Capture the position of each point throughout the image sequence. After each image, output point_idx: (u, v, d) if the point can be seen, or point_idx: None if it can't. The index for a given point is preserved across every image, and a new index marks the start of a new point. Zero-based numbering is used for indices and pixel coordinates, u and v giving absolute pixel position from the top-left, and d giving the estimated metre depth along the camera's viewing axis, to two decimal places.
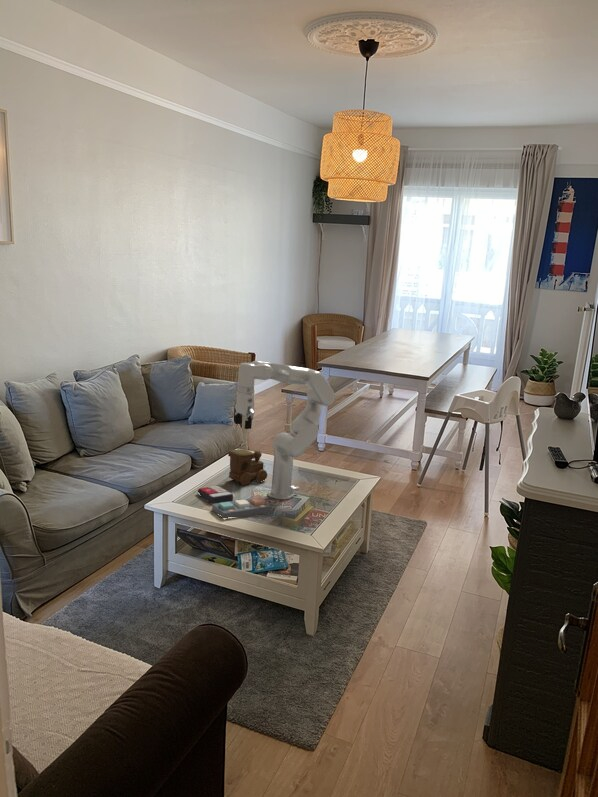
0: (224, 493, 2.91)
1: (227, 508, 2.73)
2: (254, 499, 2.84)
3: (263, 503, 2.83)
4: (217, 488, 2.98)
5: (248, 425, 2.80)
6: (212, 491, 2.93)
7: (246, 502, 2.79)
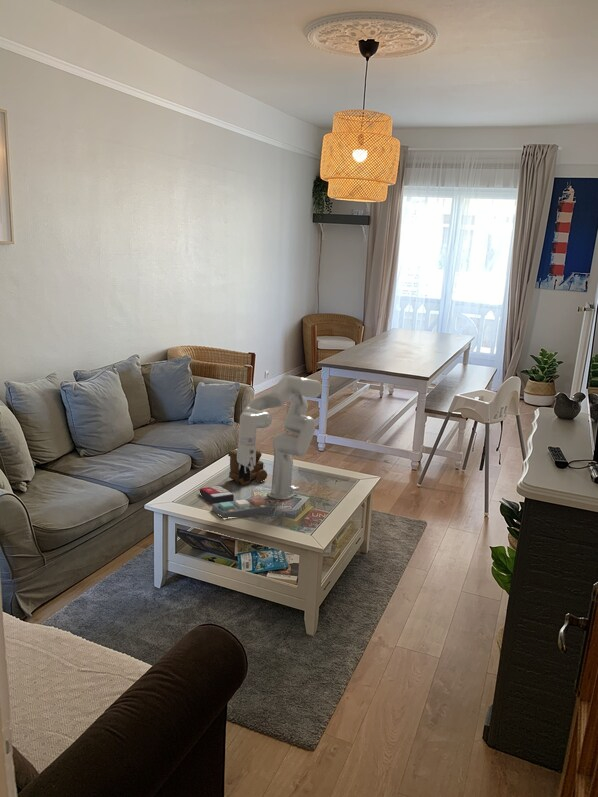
0: (225, 493, 2.91)
1: (227, 508, 2.73)
2: (254, 499, 2.84)
3: (263, 503, 2.83)
4: (218, 488, 2.98)
5: (246, 478, 2.75)
6: (213, 491, 2.93)
7: (246, 502, 2.79)
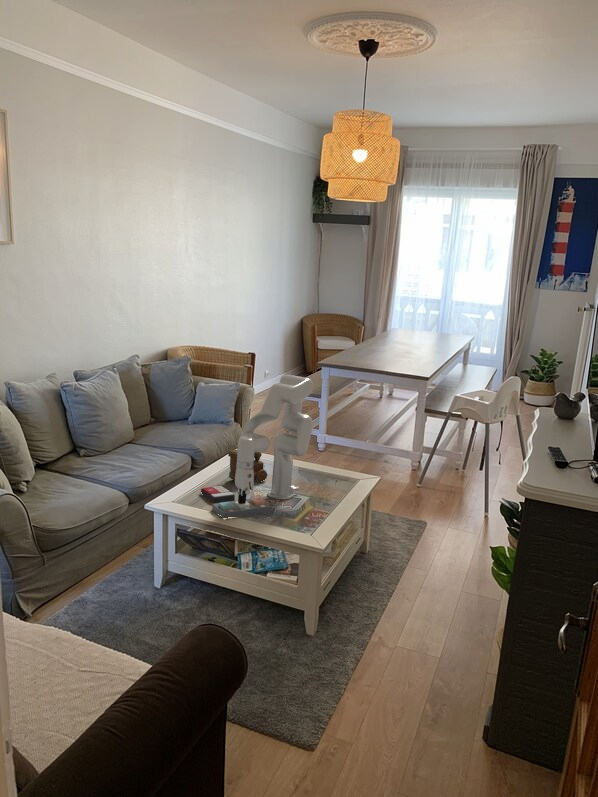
0: (226, 493, 2.91)
1: (227, 508, 2.73)
2: (254, 499, 2.84)
3: (263, 503, 2.83)
4: (220, 488, 2.98)
5: (242, 500, 2.78)
6: (214, 491, 2.93)
7: (246, 503, 2.80)
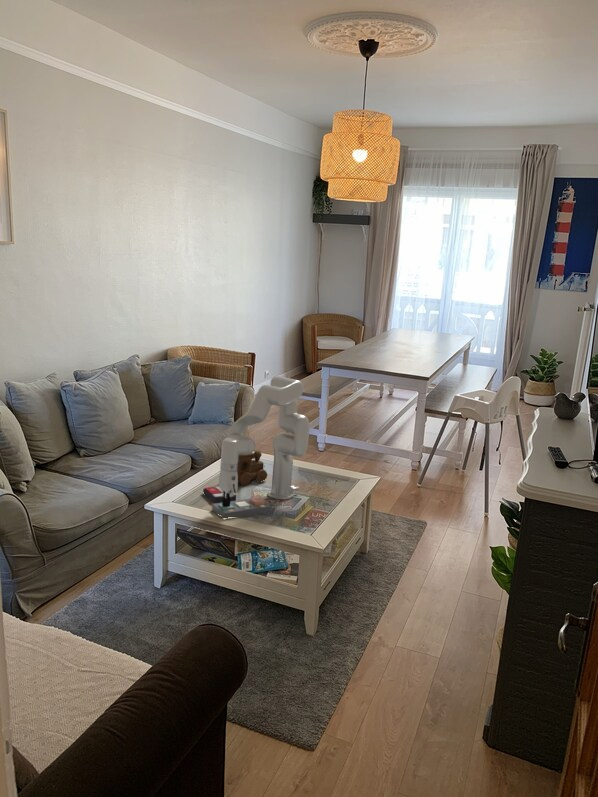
0: None
1: None
2: (254, 499, 2.84)
3: (263, 503, 2.83)
4: None
5: (227, 503, 2.74)
6: (216, 491, 2.94)
7: (246, 504, 2.80)
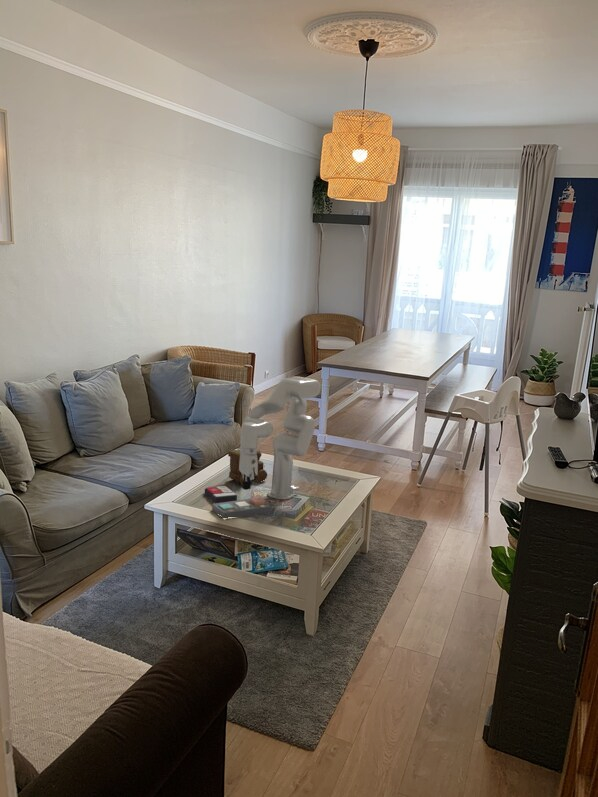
0: (228, 493, 2.91)
1: None
2: (254, 499, 2.84)
3: (263, 503, 2.83)
4: (224, 488, 2.98)
5: (247, 486, 2.78)
6: (217, 491, 2.94)
7: (246, 504, 2.80)
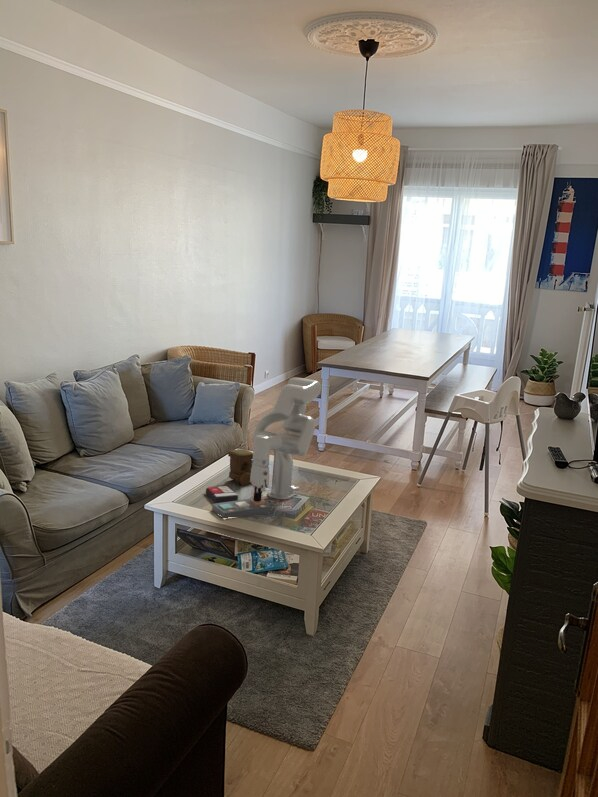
0: (229, 494, 2.91)
1: None
2: None
3: (263, 503, 2.83)
4: (225, 488, 2.98)
5: (258, 497, 2.82)
6: (218, 491, 2.94)
7: (246, 504, 2.80)
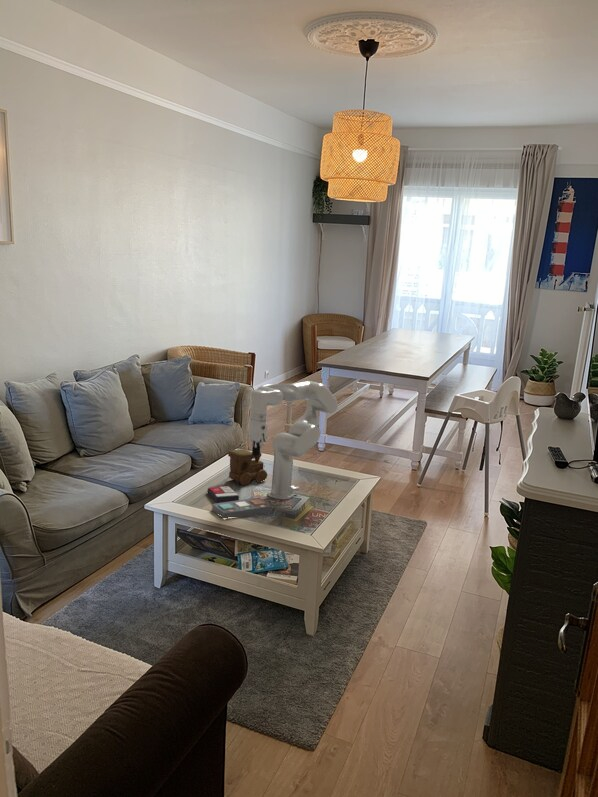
0: (230, 494, 2.91)
1: None
2: (254, 501, 2.84)
3: None
4: (226, 488, 2.99)
5: (257, 452, 2.86)
6: (220, 491, 2.94)
7: (246, 504, 2.80)
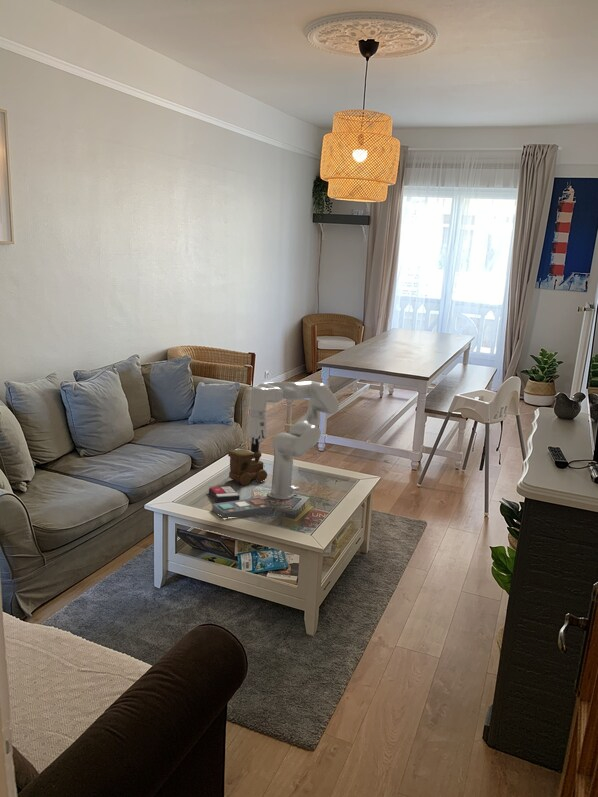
0: (231, 494, 2.91)
1: None
2: (254, 501, 2.84)
3: None
4: (227, 488, 2.99)
5: (255, 448, 2.86)
6: (221, 491, 2.94)
7: (246, 504, 2.80)
